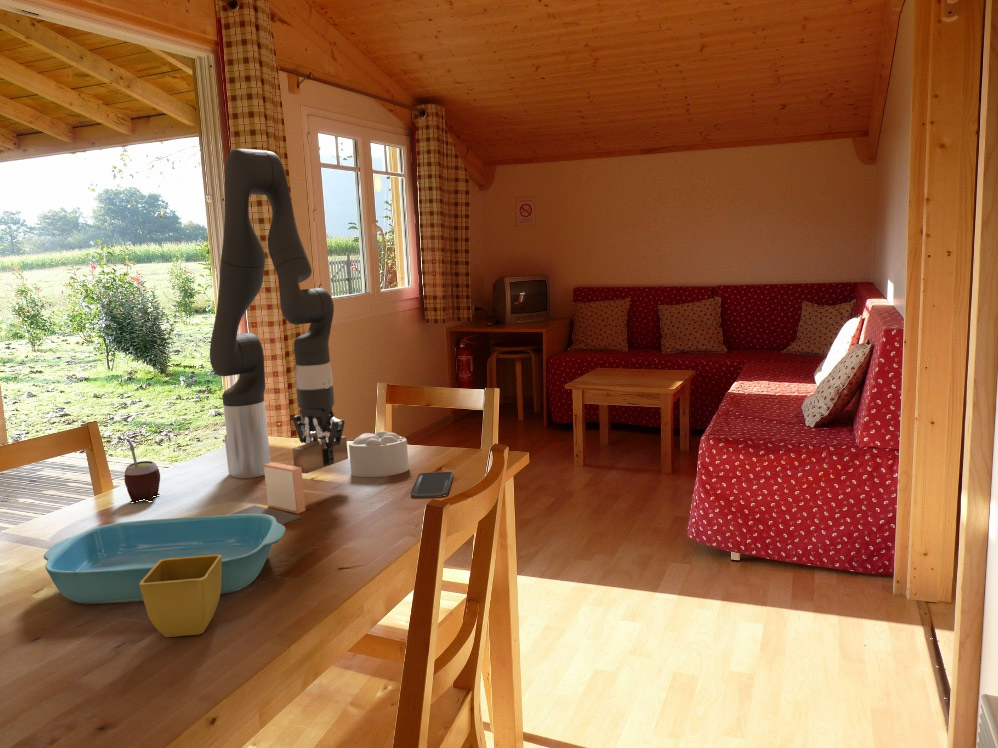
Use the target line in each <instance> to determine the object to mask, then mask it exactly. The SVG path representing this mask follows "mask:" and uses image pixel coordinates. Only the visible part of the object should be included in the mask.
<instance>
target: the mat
mask: <svg viewBox="0 0 998 748" xmlns="http://www.w3.org/2000/svg"><path fill="white" fill-rule="evenodd" d="M233 514H265V515H270V516H273V517H274V518H275V519H276V521H277V523H279V524H281V525H283V526H285V525H286V524H288V523H290V522H293V521H296V520H298V519H300V518H301V515H296V514H292V513H288V512H286V511H285V512H284V511H282V510H281V511H280V510H275V509H271V508H266V507H264V506H259V505H255V504H254V505H252V506H249V507H245V508H243V509H241V510H238V511H236V512H233V513H230V514H228V515H233Z"/></svg>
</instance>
